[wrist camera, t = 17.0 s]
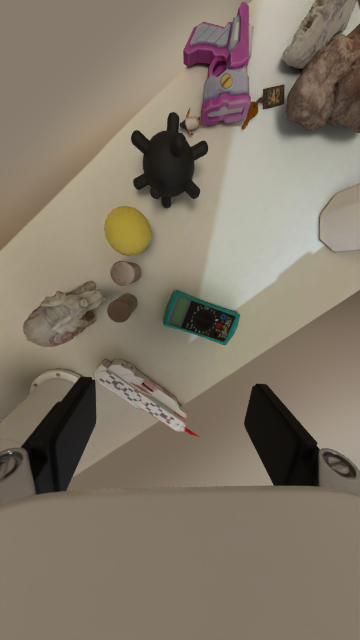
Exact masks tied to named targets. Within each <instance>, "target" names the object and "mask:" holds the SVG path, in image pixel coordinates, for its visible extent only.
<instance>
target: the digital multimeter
mask: <svg viewBox="0 0 360 640" xmlns="http://www.w3.org/2000/svg"><path fill="white" fill-rule="evenodd" d="M239 317H240V315H239V314H238V313H237V312H235V311H232V310H229V309H226V308H223V307H220V306H217V305H214V304H211V303H208V302H205V301H203V300H200V299H197V298H195V297H192V296H190V295H188V294H185V293H183V292H181V291H178V290H175V291H174V292H173V294H172V297H171V299H170V301H169V304H168V306H167V309H166V313H165V316H164V320H163V324H164V325H165V326H168V327H172V328H175V329H179V330H182V331H186V332H189V333H192V334H195V335H198V336H201V337H204V338H207V339H209V340H212V341H215V342H217V343H220V344H223V345H226V344H227V343H228V342H229V340H230V339H231V337H232V336H233V334H234V333H235V331H236V328H237V325H238V321H239Z"/></svg>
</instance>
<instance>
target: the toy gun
mask: <svg viewBox="0 0 360 640" xmlns="http://www.w3.org/2000/svg"><path fill="white" fill-rule="evenodd" d="M253 28H254V27H253V26H251V25H250V24H249V6H248V5H247V4H246V3H245V2H242V3H241V5H240V7H239V9H238V14H237V17H235V18H233V22H229V23H228V24H227V25H226V26H225V27H221V26H218V25H214V24H210V23H206V22H203V23H201V24H199V25H198V26H196V27H194V28H193V31H192V33H191V35H190V37H189V39H188V42H187V44H186V46H185V48H184V53H183V54H184V64H185V65H186V66H187V67H190V66H192V65H193V64H195V63H197V62H199V63H210V64H211V65H210V67H209V70H208V79H207V81H206V82H205V88H204V97H203V104H202V111H201V121H202V124H206V125H214V124H217V123H218V121H220V120H223V121H224V122H225V123H228V122H234V121H241V120H243V119H244V118H245V117H246V116H247V113H248V110H249V107H250V104H251V97H250V96H249V77H248V75H247V65H248V61H249V60H250V57H251V48H252V38H253Z"/></svg>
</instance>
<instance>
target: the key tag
mask: <svg viewBox="0 0 360 640" xmlns="http://www.w3.org/2000/svg"><path fill="white" fill-rule="evenodd" d="M262 101H263V109H265V108H270V107H274V106H278V105H281V104H284V85H280V86H275V87H271V88H267V89H263V97H262V98H259V99H258V100H257V101H256V102H251V104H250V107H249V110H248V113H247V115H248V116H247V118H246V120H245V122H244V124H243V126H242V129H245V128H246V125H248V122H249V119H252V117H255V116H256V115H257V113H258V105H257V104H258V103H259V102H262Z"/></svg>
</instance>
